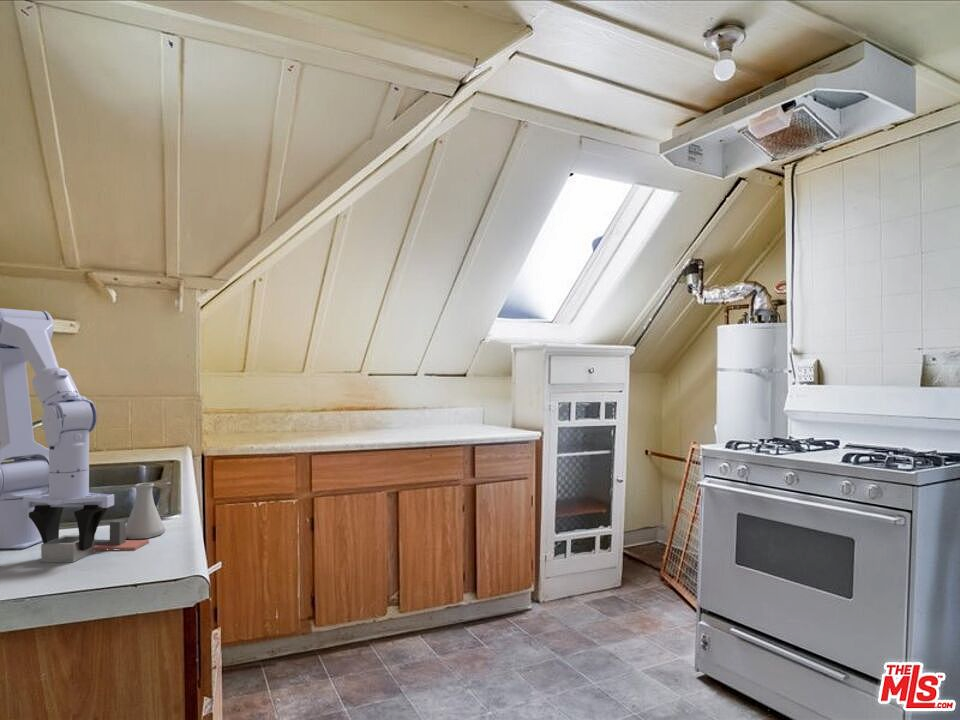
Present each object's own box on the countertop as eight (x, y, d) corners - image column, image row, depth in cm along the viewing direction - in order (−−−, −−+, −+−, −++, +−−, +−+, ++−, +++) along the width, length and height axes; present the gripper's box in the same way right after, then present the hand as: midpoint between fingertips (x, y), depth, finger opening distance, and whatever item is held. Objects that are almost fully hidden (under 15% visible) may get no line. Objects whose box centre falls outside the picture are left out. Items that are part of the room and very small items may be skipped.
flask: (172, 530, 117) (173, 481, 118) (148, 541, 110) (149, 488, 110) (139, 529, 118) (139, 480, 118) (113, 540, 111) (113, 487, 111)
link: (41, 562, 98) (41, 544, 98) (64, 552, 103) (64, 535, 103) (73, 562, 98) (73, 544, 98) (94, 552, 103) (94, 535, 103)
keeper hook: (80, 550, 104) (80, 524, 104) (96, 543, 109) (96, 517, 109) (135, 550, 104) (135, 523, 105) (149, 542, 109) (149, 517, 109)
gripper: (8, 474, 97) (7, 556, 97) (95, 474, 97) (95, 556, 97) (40, 467, 104) (39, 543, 104) (121, 467, 104) (121, 543, 104)
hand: (68, 549), depth 101 cm, fingers closed on link, 5 cm apart
